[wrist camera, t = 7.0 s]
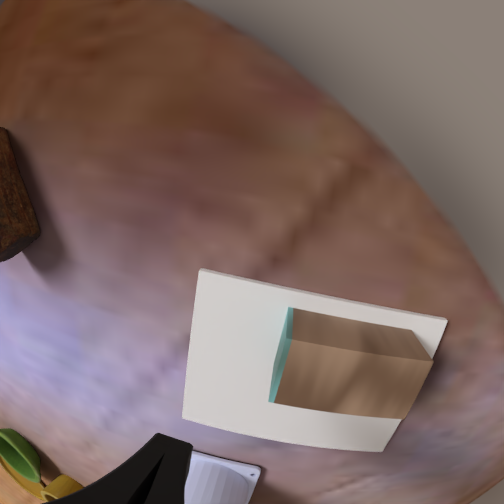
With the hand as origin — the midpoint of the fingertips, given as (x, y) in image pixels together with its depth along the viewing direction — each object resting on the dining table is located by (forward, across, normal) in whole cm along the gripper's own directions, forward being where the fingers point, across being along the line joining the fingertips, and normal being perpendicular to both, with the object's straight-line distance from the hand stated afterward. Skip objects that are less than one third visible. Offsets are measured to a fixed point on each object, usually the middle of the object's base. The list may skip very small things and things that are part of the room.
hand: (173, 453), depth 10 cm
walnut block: (+8, -3, -1) cm, 9 cm away
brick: (+11, +20, -6) cm, 24 cm away
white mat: (+10, -6, +2) cm, 12 cm away
